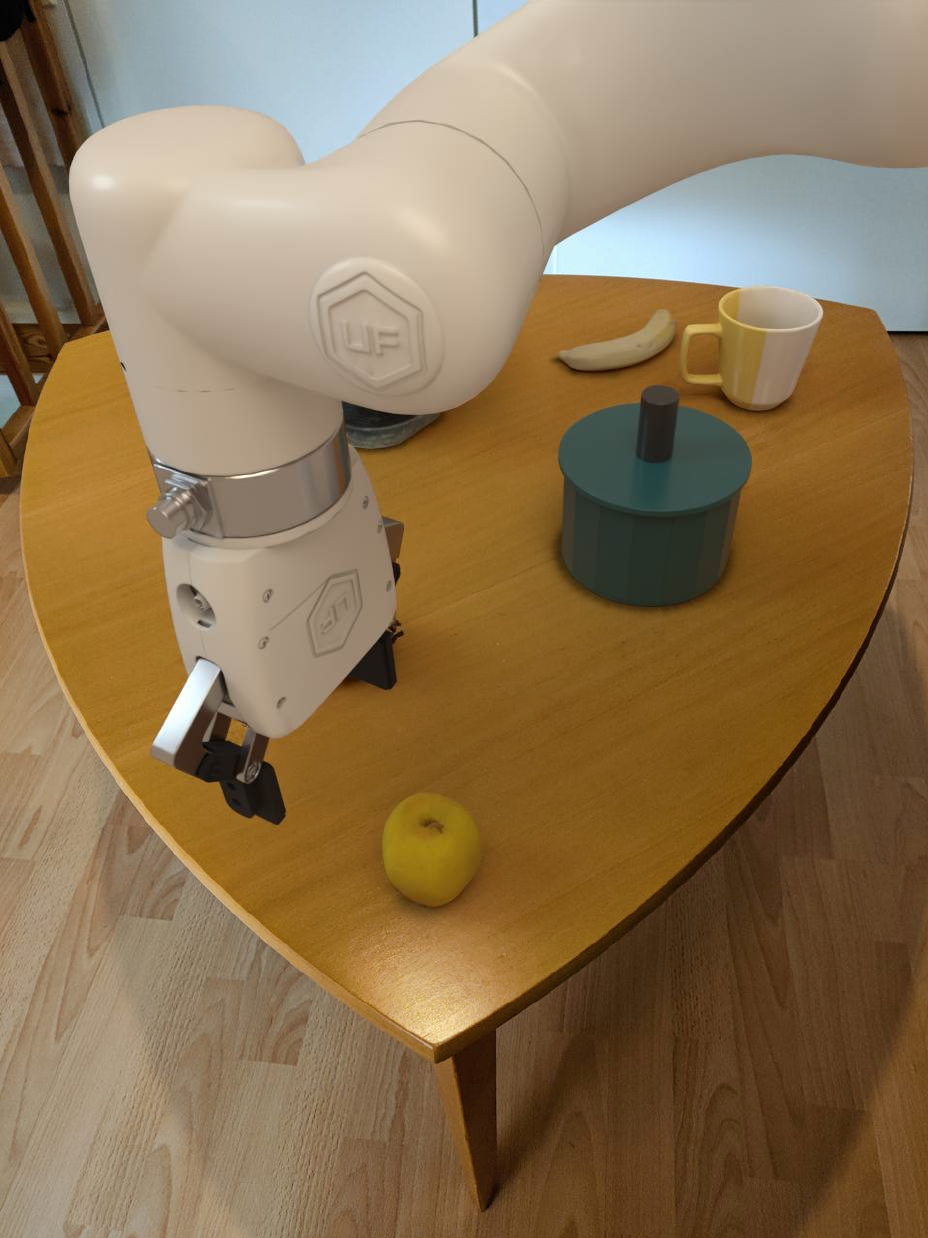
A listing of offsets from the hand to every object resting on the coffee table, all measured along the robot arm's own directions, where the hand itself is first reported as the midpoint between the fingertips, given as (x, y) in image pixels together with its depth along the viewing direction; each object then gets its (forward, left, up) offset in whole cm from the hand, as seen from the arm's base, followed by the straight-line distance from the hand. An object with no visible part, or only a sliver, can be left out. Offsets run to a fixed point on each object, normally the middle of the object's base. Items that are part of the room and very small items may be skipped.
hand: (317, 740), depth 51 cm
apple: (-3, -5, -19) cm, 20 cm away
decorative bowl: (+32, -52, -19) cm, 64 cm away
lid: (-2, -43, -9) cm, 44 cm away
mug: (-1, -72, -19) cm, 75 cm away
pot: (-2, -43, -19) cm, 47 cm away
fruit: (+14, -76, -19) cm, 80 cm away
